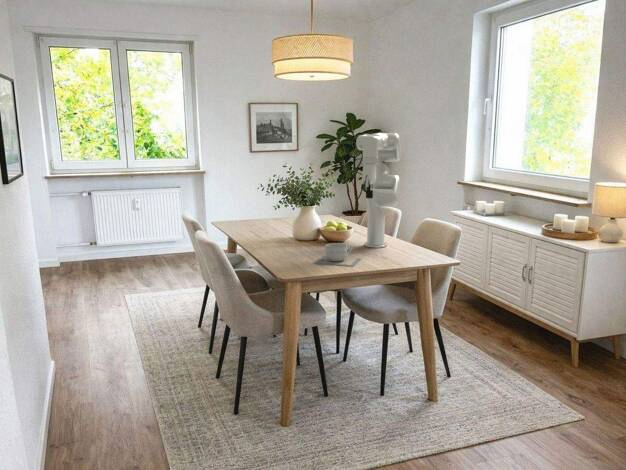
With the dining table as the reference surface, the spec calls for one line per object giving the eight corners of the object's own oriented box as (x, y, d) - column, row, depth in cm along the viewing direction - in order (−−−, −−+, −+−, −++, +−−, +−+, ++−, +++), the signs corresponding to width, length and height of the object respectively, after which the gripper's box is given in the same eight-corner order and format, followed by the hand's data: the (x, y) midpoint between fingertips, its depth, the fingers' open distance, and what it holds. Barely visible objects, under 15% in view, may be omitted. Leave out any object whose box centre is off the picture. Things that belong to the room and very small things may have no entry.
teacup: (327, 263, 251) (328, 247, 249) (323, 258, 261) (323, 242, 260) (355, 262, 254) (356, 246, 252) (349, 256, 264) (350, 241, 262)
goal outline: (323, 255, 266) (323, 255, 266) (361, 259, 259) (361, 258, 259) (313, 263, 251) (313, 262, 251) (353, 266, 245) (353, 266, 245)
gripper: (366, 160, 266) (366, 196, 270) (358, 161, 252) (357, 199, 256) (381, 160, 263) (380, 196, 267) (373, 162, 250) (372, 200, 253)
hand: (369, 198), depth 262 cm, fingers closed
